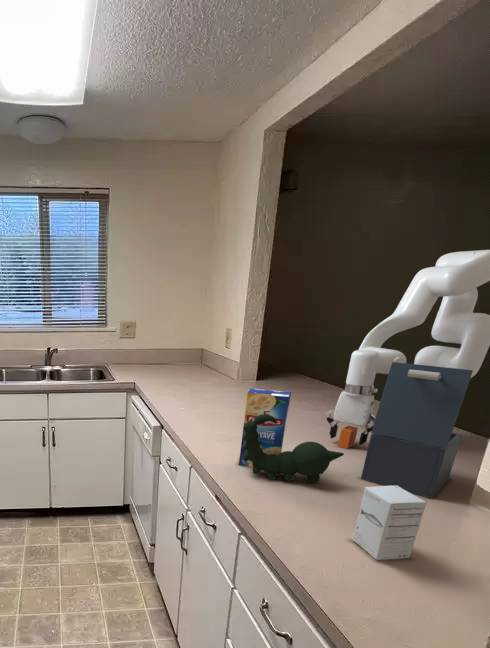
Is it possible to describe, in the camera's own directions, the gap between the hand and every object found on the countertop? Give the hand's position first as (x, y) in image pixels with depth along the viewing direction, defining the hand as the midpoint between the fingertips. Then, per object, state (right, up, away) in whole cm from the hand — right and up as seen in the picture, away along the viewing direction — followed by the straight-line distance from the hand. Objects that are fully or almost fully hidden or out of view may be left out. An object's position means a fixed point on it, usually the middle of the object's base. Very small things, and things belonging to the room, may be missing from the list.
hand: (346, 440), depth 145 cm
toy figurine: (-32, -11, -24) cm, 41 cm away
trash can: (+1, -11, -25) cm, 27 cm away
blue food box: (-35, -7, -14) cm, 39 cm away
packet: (0, -2, +1) cm, 2 cm away
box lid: (-4, +9, -37) cm, 38 cm away
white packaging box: (-28, -23, -57) cm, 67 cm away
